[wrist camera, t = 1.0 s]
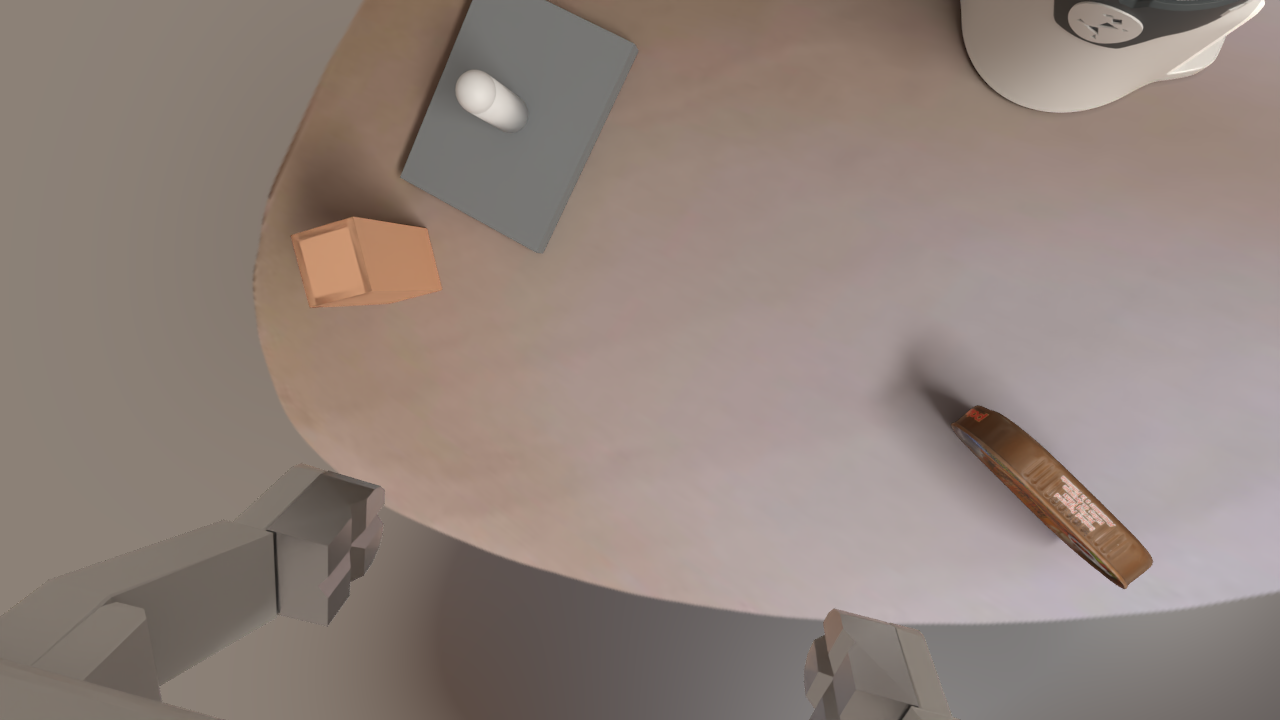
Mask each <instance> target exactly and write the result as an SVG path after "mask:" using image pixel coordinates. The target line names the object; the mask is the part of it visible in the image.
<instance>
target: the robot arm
mask: <svg viewBox="0 0 1280 720" xmlns="http://www.w3.org/2000/svg"><path fill="white" fill-rule="evenodd" d="M960 3H961V19H962V32H963V38H964V42H965V46H966V49H967V52H968V55H969V57H970V59H971V61H972V63H973V65H974V67H975V68H976V70H977V71H978V73H979V74H980V76H981V77H982V78H983V79H984V80H985V82H986V83H987V84H988V85H989V86H990V87H992V88H993V89H994V90H995V91H996V92H998V93H999V94H1000V95H1002V96H1003V97H1005V98H1007V99H1008V100H1010V101H1012V102H1014V103H1017V104H1019V105H1021V106H1024V107H1027V108H1031V109H1035V110H1039V111H1045V112H1060V113H1062V112H1076V111H1083V110H1088V109H1092V108H1096V107H1099V106H1102V105H1105V104H1108V103H1111V102H1113V101H1115V100H1117V99H1120V98H1122V97H1124V96H1125V95H1127V94H1129V93H1131V92H1133V91H1135V90H1137V89H1139V88H1140V87H1143V86H1145V85H1147V84H1149V83H1152V82H1155V81H1163V80H1170V79H1177V78H1182V77H1187V76H1190V75H1193V74H1196V73H1198V72H1200V71H1201V70H1203V69H1204V68H1206V67H1207V66H1209V65H1210V64H1211V63H1212V62H1213V61H1214V60H1215V59H1216V57H1217V56H1218V54H1219V51H1220V49H1221V47H1222V45H1223V42H1224V40H1225V38H1226V35H1228V34H1229V33H1231V32H1232V31H1234V30H1235V29H1237V28H1238V27H1239V26H1241V25H1242V24H1244V23H1245V22H1247V21H1248V20H1250V19H1251V18H1252V17H1254V16H1255V15H1256V14H1257V13H1258V12H1259V11H1260V10H1261V9H1262V7H1263V6H1264V5H1265V1H1264V0H960ZM384 504H385V489H383V488H382V487H381V486H378V485H375V484H372V483H368V482H365V481H362V480H358V479H355V478H351V477H348V476H345V475H341V474H338V473H334V472H331V471H325V470H322V469H319V468H315V467H312V466H308V465H306V464H302V463H301V464H298V465H295V466H293V467H291V468H290V469H289V470H288V471H287V472H286V473H285V474H284V475H283V476H281V477H280V478H279V479H278V480H277V481H276V482H275V483H274V484H273V485H272V486H271V487H270V488H269V489H267V490H266V491H265V492H264V493H263V494H262V495H261V496H260V497H259V498H258V499H257V500H256V501H254V503H252V504H251V505H250V506H249V507H248V508H247V509H246V510H245V511H244V512H243V513H242V514H240V515H239V516H238V517H237V518H236V519H235V520H234V521H233V522H231V521H227V520H222V521H219V522H216V523H213V524H210V525H207V526H204V527H201V528H199V529H196V530H192V531H190V532H187V533H184V534H181V535H178V536H175V537H172V538H170V539H166V540H163V541H160V542H158V543H155V544H152V545H149V546H146V547H143V548H140V549H137V550H134V551H132V552H129V553H125V554H123V555H120V556H117V557H114V558H111V559H108V560H105V561H103V562H99V563H96V564H93V565H90V566H88V567H85V568H82V569H79V570H76V571H73V572H70V573H67V574H64V575H61V576H58V577H56V578H53V579H50V580H48V581H46V582H45V583H44V584H42V585H41V586H40V587H39V588H37V589H36V590H35V591H33V592H32V593H31V594H29V595H28V596H27V597H25V598H24V599H23V600H21V601H20V602H19V603H17V604H16V605H15V606H14V607H12V608H11V609H10V610H8V611H7V612H6V613H4V614H3V615H2V616H0V720H224V719H220V718H217V717H213V716H210V715H206V714H202V713H199V712H195V711H191V710H188V709H184V708H181V707H177V706H173V705H169V704H166V703H162V698H161V694H160V688H159V686H161V685H163V684H164V683H166V682H168V681H169V680H171V679H173V678H175V677H176V676H178V675H180V674H181V673H183V672H185V671H186V670H188V669H190V668H192V667H193V666H195V665H197V664H198V663H200V662H202V661H204V660H205V659H207V658H208V657H210V656H212V655H214V654H216V653H217V652H219V651H221V650H222V649H224V648H225V647H227V646H229V645H231V644H232V643H234V642H236V641H238V640H239V639H241V638H243V637H244V636H246V635H248V634H250V633H251V632H253V631H255V630H257V629H258V628H260V627H262V626H263V625H265V624H267V623H268V622H270V621H272V620H273V619H275V618H276V617H277V615H281V616H286V617H290V618H294V619H298V620H302V621H306V622H310V623H315V624H319V625H323V626H327V627H328V625H329V624H330V622H331V621H332V619H333V618H334V617H335V615H336V614H337V613H338V611H339V610H340V608H341V607H342V606H343V604H344V603H345V601H346V600H347V599H348V597H349V596H350V582H351V581H354V580H356V579H358V578H360V577H362V576H364V574H365V573H366V572H367V570H368V569H369V567H370V566H371V564H372V562H373V560H374V558H375V556H376V554H377V551H378V549H379V546H380V543H381V539H382V535H383V522H382V521H381V519H380V518H379V516H378V512H379V511H380V510H381V508H382V507H383V506H384ZM823 626H824V631H825V635H824V636H821V637H819V638H817V639H815V640H814V641H813V643H812V645H811V647H810V650H809V652H808V654H807V660H806V664H805V669H804V686H805V694H806V697H807V698H808V700H809V701H810V703H811V704H812V705H813V707H814V708H815V710H814V712H813V714H812V716H811V718H810V719H809V720H960V719H957V718H953V717H952V714H951V711H950V709H949V706H948V703H947V700H946V697H945V694H944V692H943V689H942V686H941V684H940V680H939V678H938V675H937V672H936V669H935V666H934V663H933V661H932V658H931V655H930V652H929V649H928V646H927V644H926V641H925V638H924V636H923V634H922V633H921V632H920V631H919V630H916V629H913V628H909V627H905V626H901V625H897V624H893V623H887V622H884V621H880V620H877V619H873V618H869V617H865V616H861V615H857V614H854V613H850V612H846V611H842V610H838V609H833V610H832V611H830V612H829V613H828V615H827V617H826V618H825V620H824V622H823Z"/></svg>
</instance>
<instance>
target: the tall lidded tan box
mask: <svg viewBox="0 0 1280 720" xmlns="http://www.w3.org/2000/svg"><path fill="white" fill-rule="evenodd" d="M291 239H292V243H293V247H294V250H295V254H296V258H297V262H298V265H299V269H300V273H301V277H302V281H303V284H304V288H305V292H306V296H307V300H308V303H309V307H310V308H316V307H336V306H355V305H375V304H390V303H394V302H398V301H402V300H405V299H409V298H413V297H417V296H421V295H425V294H429V293H433V292H436V291H440V290H442V287H441V283H440V279H439V275H438V271H437V267H436V263H435V259H434V255H433V251H432V247H431V243H430V239H429V235H428V231H427V228H421V227H415V226H409V225H402V224H396V223H390V222H384V221H377V220H371V219H365V218H359V217H350V218H347V219H343V220H340V221H337V222H333V223H330V224H327V225H323V226H320V227H317V228H313V229H310V230H307V231H304V232H300V233H297V234H294V235H291Z"/></svg>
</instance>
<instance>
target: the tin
mask: <svg viewBox="0 0 1280 720" xmlns="http://www.w3.org/2000/svg"><path fill="white" fill-rule="evenodd" d="M951 427H952V429H953V430H954V432H955V433H956V435H957V436H958V437H959V438H960V439H961V441H962V442H963V443H964V444H965V445H966V446H967V447H968V448H969V449H970V450H971V451H972V452H973V453H974V454H975V455H976V456H977V457H978V458H979V459H980V460H981V461H982V462H983V463H984V464H985V465H986V466H987V467H988V468H989V469H990V470H991V471H992V472H993V473H994V474H995V475H996V476H997V477H998V478H999V479H1000V480H1001V481H1002V482H1003V483H1004V484H1005V485H1006V486H1007V487H1008V488H1009V489H1010V490H1011V491H1012V492H1013V493H1014V494H1015V495H1016V496H1017V497H1018V498H1019V499H1020V500H1021V501H1022V502H1023V503H1024V504H1025V505H1026V506H1027V507H1028V508H1029V509H1030V510H1031V511H1032V512H1033V513H1034V514H1035V515H1036V516H1037V517H1038V518H1039V519H1040V520H1041V521H1042V522H1043V523H1044V524H1045V525H1046V526H1047V527H1048V528H1049V529H1051V530H1052V531H1053V532H1054V533H1055V534H1056V535H1057V536H1058V537H1059V538H1060V539H1061V540H1062V541H1063V542H1065V543H1066V544H1067V545H1068V546H1069V547H1070V548H1071V549H1073V550H1074V551H1075V552H1076V553H1077V554H1078V555H1079V556H1081V557H1082V558H1083V559H1084V560H1085V561H1087V562H1088V563H1089V564H1090V565H1091V566H1093V567H1094V568H1095V569H1096V570H1098V571H1099V572H1100V573H1102V574H1103V575H1104V576H1105V577H1106V578H1108V579H1109V580H1110V581H1112V582H1113V583H1114V584H1116V585H1118V586H1119V587H1121V588H1123V589H1126V588H1127V587H1128V585H1129V584H1130V583H1131V582H1132V581H1134V580H1135V579H1136V578H1138V577H1139V576H1140V575H1141V574H1143V573H1144V572H1145V571H1146V570H1148V569H1149V568H1150V567H1151V565H1152V563H1153V560H1152V557H1151V555H1150V554H1149V552H1148V551H1147V550H1146V549H1145V547H1144V546H1143V545H1142V544H1141V543H1140V542H1139V541H1138V540H1137V538H1136V537H1135V536H1134V535H1133V534H1132V533H1131V532H1130V531H1129V530H1128V529H1127V528H1126V527H1125V526H1124V525H1123V524H1122V523H1121V522H1120V521H1119V520H1118V519H1117V518H1116V517H1115V516H1114V515H1113V514H1112V513H1111V512H1110V511H1109V510H1108V509H1107V508H1106V507H1105V506H1104V505H1103V504H1102V503H1101V502H1100V501H1099V500H1098V499H1097V498H1096V497H1095V496H1093V495H1092V494H1091V493H1090V492H1089V491H1088V490H1087V489H1086V488H1085V487H1084V486H1083V485H1082V484H1081V483H1080V482H1079V481H1078V480H1077V479H1076V478H1075V477H1074V476H1073V475H1072V474H1071V473H1070V472H1069V471H1068V470H1067V469H1066V468H1065V467H1064V466H1063V465H1061V464H1060V463H1059V462H1058V461H1057V460H1056V459H1055V458H1054V457H1053V456H1052V455H1051V454H1050V453H1049V452H1048V451H1047V450H1046V449H1045V448H1043V447H1042V446H1041V445H1040V444H1039V443H1038V442H1037V441H1036V440H1034V439H1033V438H1032V437H1031V436H1030V435H1029V434H1027V433H1026V432H1025V431H1024V430H1022V429H1021V428H1020V427H1019V426H1017V425H1016V424H1015V423H1013V422H1012V421H1010V420H1009V419H1008V418H1006V417H1005V416H1003V415H1001V414H1000V413H998V412H995V411H992V410H989V409H987V408H984V407H982V406H978V405H977V406H975V407H973V408H972V409H971V410H969V411H968V412H967V413H966V414H965V415H964V416H962V417H961V418H960V419H959V420H958V421H957V422H955V423H952V424H951Z"/></svg>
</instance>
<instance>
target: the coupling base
mask: <svg viewBox="0 0 1280 720" xmlns="http://www.w3.org/2000/svg"><path fill="white" fill-rule="evenodd" d="M637 53H638V49H637V47H636V46H635V44H634V43H632V42H630V41H628V40H626V39H624V38H621V37H619V36H617V35H615V34H613V33H611V32H609V31H607V30H605V29H603V28H601V27H599V26H597V25H595V24H593V23H591V22H589V21H587V20H585V19H583V18H581V17H578V16H576V15H574V14H572V13H570V12H568V11H566V10H564V9H562V8H560V7H558V6H556V5H554V4H552V3H550V2H548V1H546V0H472V3H471V5H470V8H469V10H468V12H467V15H466V17H465V20H464V22H463V25H462V27H461V30H460V32H459V34H458V37H457V39H456V42H455V44H454V47H453V49H452V52H451V54H450V57H449V59H448V61H447V64H446V66H445V69H444V71H443V74H442V76H441V79H440V81H439V83H438V86H437V88H436V91H435V93H434V96H433V98H432V101H431V103H430V105H429V108H428V110H427V113H426V115H425V118H424V120H423V123H422V125H421V127H420V130H419V132H418V135H417V137H416V140H415V142H414V145H413V147H412V149H411V152H410V154H409V157H408V159H407V162H406V164H405V167H404V169H403V171H402V174H401V176H400V178H402V179H404V180H406V181H407V182H409V183H411V184H413V185H415V186H416V187H418V188H420V189H422V190H424V191H426V192H427V193H429V194H431V195H433V196H435V197H436V198H438V199H440V200H442V201H444V202H445V203H447V204H449V205H451V206H453V207H455V208H456V209H458V210H460V211H462V212H464V213H465V214H467V215H469V216H471V217H473V218H475V219H476V220H478V221H480V222H482V223H484V224H485V225H487V226H489V227H491V228H493V229H494V230H496V231H498V232H500V233H502V234H504V235H505V236H507V237H509V238H511V239H513V240H514V241H516V242H518V243H520V244H522V245H523V246H525V247H527V248H529V249H531V250H533V251H534V252H536V253H543V252H544V250H545V248H546V246H547V244H548V242H549V240H550V238H551V235H552V233H553V231H554V229H555V227H556V225H557V223H558V221H559V218H560V216H561V214H562V212H563V210H564V208H565V206H566V204H567V202H568V199H569V197H570V195H571V193H572V191H573V189H574V187H575V185H576V182H577V180H578V178H579V176H580V174H581V172H582V170H583V168H584V166H585V163H586V161H587V159H588V157H589V155H590V153H591V151H592V149H593V146H594V144H595V142H596V140H597V138H598V136H599V134H600V132H601V130H602V127H603V125H604V123H605V121H606V119H607V117H608V115H609V113H610V110H611V108H612V106H613V104H614V102H615V100H616V98H617V96H618V94H619V91H620V89H621V87H622V85H623V83H624V81H625V79H626V77H627V74H628V72H629V70H630V68H631V66H632V64H633V62H634V60H635V58H636V55H637Z"/></svg>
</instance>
